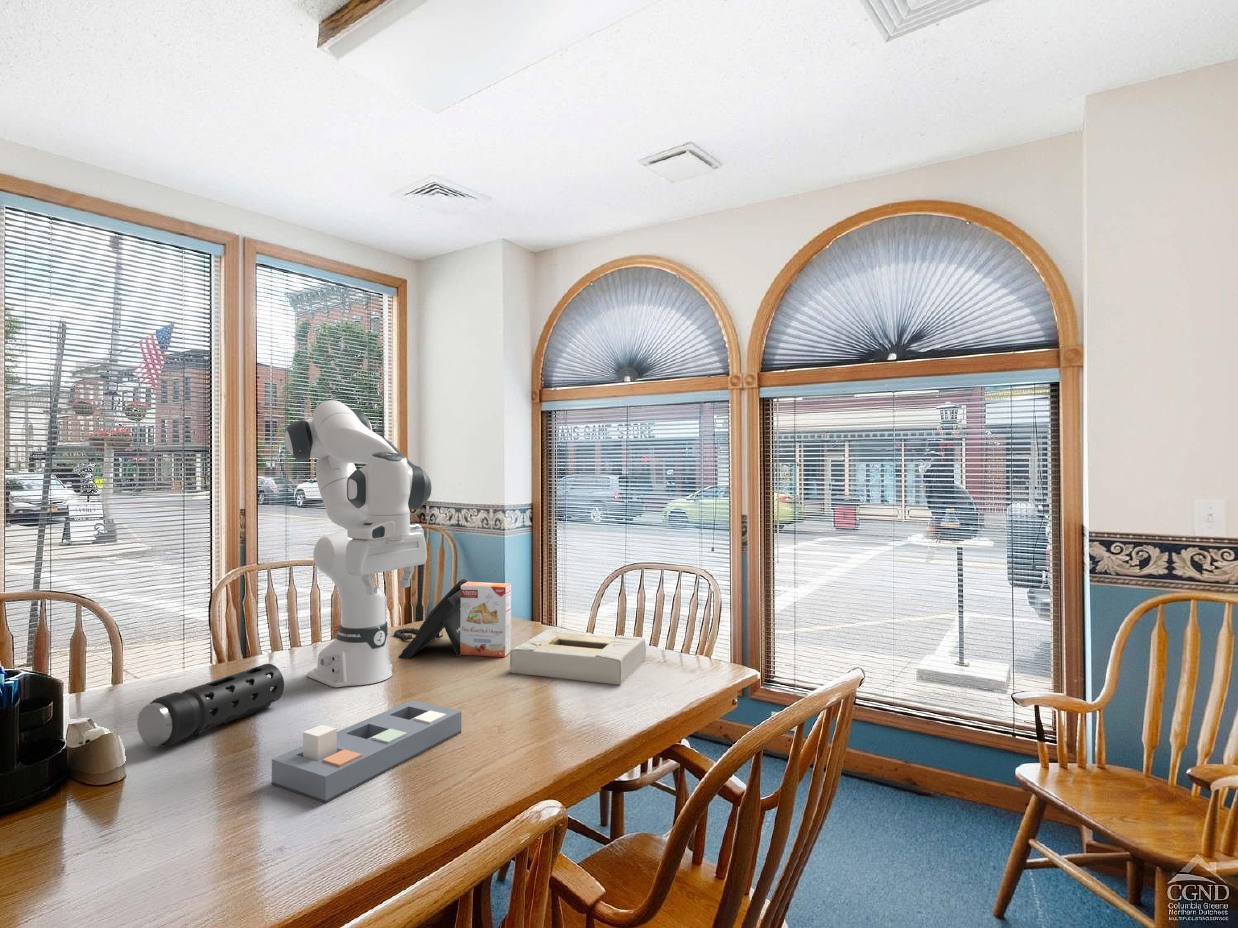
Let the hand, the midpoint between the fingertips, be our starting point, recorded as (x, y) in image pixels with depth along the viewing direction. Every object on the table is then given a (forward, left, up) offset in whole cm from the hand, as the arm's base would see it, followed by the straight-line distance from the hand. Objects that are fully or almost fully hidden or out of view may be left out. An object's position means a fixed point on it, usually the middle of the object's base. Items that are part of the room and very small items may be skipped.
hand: (388, 590), depth 150 cm
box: (+15, +56, -30) cm, 65 cm away
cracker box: (-16, +53, -29) cm, 62 cm away
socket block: (+10, -13, -29) cm, 33 cm away
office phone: (-39, +52, -30) cm, 71 cm away
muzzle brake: (-31, -19, -30) cm, 47 cm away
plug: (+8, -24, -29) cm, 38 cm away
